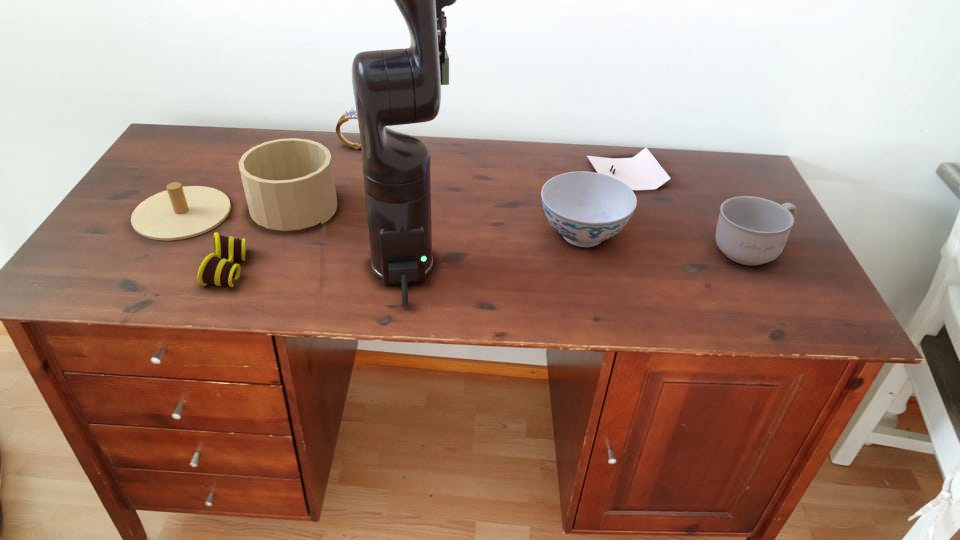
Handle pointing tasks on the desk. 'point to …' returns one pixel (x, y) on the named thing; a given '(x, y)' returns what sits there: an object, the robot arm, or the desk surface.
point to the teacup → (753, 229)
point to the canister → (289, 184)
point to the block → (445, 70)
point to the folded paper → (633, 170)
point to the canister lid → (180, 212)
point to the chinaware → (587, 206)
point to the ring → (343, 119)
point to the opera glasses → (222, 261)
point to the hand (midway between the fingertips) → (433, 77)
